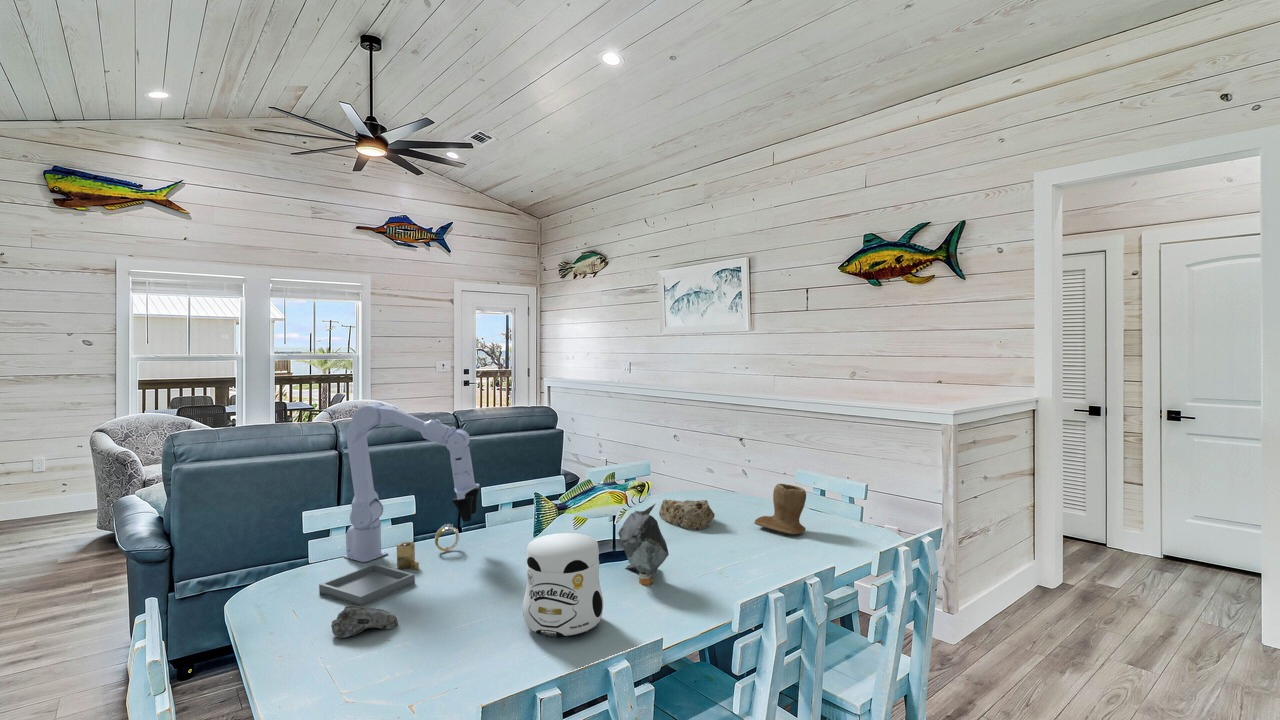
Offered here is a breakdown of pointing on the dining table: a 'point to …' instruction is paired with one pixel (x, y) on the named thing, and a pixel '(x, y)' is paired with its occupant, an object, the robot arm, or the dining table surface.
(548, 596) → the doce de leite jar
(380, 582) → the tray
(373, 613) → the grey rough irregular lump
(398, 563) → the brass short cylinder
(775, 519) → the brown flared cylinder
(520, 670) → the dining table surface
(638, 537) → the grey faceted chunk
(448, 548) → the ring
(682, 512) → the rock
